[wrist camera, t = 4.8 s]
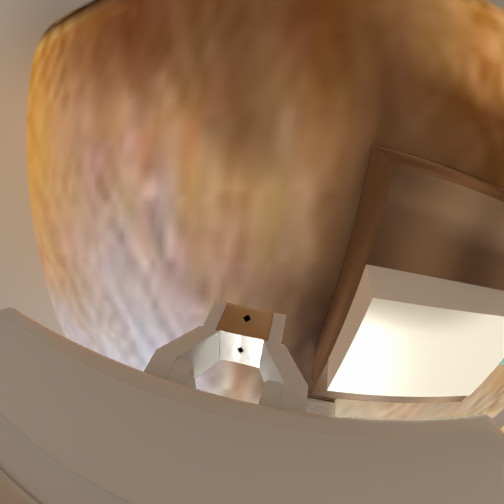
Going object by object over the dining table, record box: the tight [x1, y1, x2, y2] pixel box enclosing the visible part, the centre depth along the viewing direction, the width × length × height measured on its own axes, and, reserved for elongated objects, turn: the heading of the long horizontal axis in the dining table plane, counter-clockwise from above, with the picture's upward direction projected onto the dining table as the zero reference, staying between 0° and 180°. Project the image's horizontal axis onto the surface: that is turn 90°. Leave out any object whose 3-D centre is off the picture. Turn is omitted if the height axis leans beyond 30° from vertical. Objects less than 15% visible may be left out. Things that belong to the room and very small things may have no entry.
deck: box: [311, 145, 504, 403], centre depth 13 cm, size 12×14×4 cm
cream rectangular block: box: [327, 264, 504, 397], centre depth 11 cm, size 9×6×2 cm, turn 86°
